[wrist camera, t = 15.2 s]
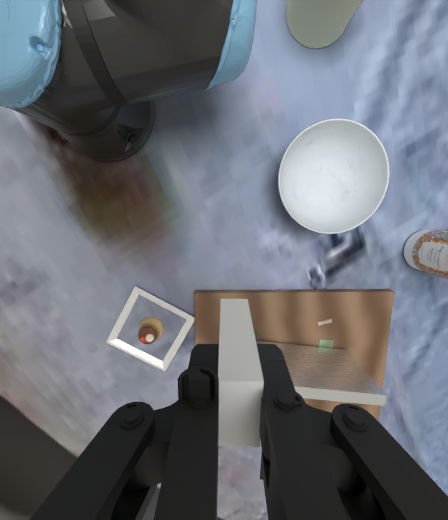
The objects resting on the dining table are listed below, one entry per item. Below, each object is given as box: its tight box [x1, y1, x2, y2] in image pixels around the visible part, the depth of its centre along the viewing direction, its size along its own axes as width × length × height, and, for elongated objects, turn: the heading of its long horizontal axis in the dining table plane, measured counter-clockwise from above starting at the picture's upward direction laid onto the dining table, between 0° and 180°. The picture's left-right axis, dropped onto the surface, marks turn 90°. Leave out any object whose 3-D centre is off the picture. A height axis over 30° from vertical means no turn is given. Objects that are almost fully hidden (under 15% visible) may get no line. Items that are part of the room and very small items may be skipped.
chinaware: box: [278, 119, 389, 234], centre depth 41 cm, size 15×15×8 cm
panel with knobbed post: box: [256, 341, 387, 406], centre depth 40 cm, size 20×4×14 cm, turn 84°
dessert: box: [106, 286, 195, 372], centre depth 47 cm, size 12×12×5 cm
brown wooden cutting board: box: [194, 289, 394, 422], centre depth 50 cm, size 34×28×2 cm
